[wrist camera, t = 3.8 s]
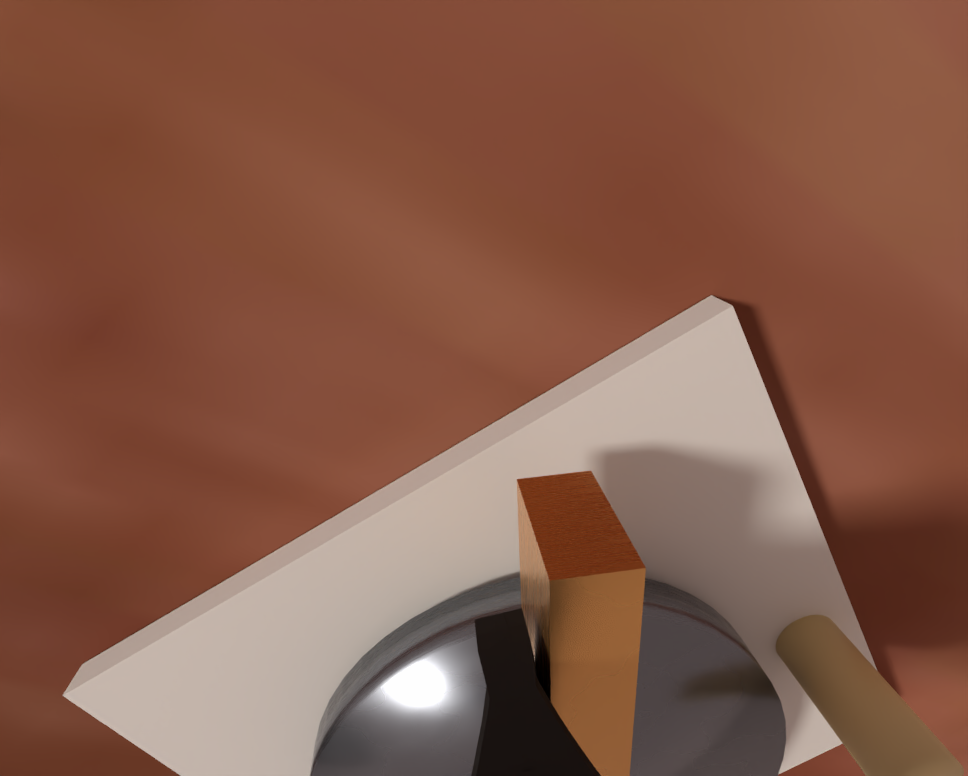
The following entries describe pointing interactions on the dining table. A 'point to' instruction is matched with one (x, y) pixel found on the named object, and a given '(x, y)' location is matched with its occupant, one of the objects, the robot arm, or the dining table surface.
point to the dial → (564, 663)
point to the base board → (495, 557)
